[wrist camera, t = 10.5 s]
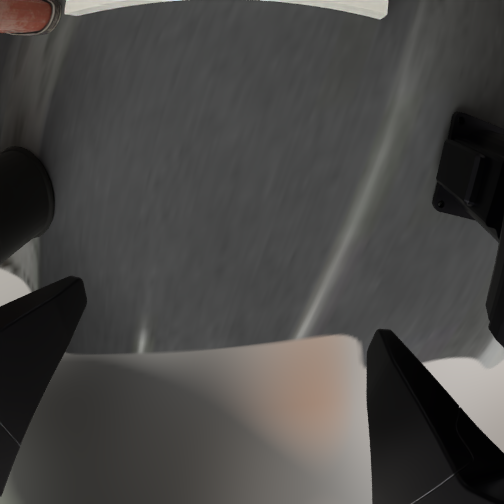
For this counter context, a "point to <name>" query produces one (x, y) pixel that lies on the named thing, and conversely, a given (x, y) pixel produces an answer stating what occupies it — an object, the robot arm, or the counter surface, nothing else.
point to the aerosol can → (22, 200)
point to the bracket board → (363, 3)
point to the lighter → (29, 16)
